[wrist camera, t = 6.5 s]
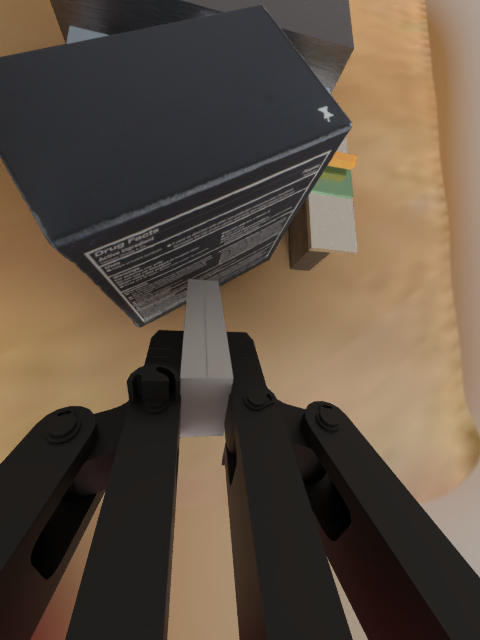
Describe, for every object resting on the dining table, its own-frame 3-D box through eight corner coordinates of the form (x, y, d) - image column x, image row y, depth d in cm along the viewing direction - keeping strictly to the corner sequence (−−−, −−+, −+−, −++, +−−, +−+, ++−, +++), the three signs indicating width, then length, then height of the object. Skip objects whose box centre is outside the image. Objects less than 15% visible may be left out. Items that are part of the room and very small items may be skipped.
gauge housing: (101, 37, 20) (57, -134, 13) (316, 88, 23) (367, -27, 17) (68, 249, 16) (-15, 162, 10) (329, 272, 20) (402, 220, 13)
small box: (226, 189, 19) (265, -12, 9) (272, 260, 19) (366, 128, 9) (88, 246, 17) (-68, 44, 6) (138, 331, 16) (51, 256, 6)
